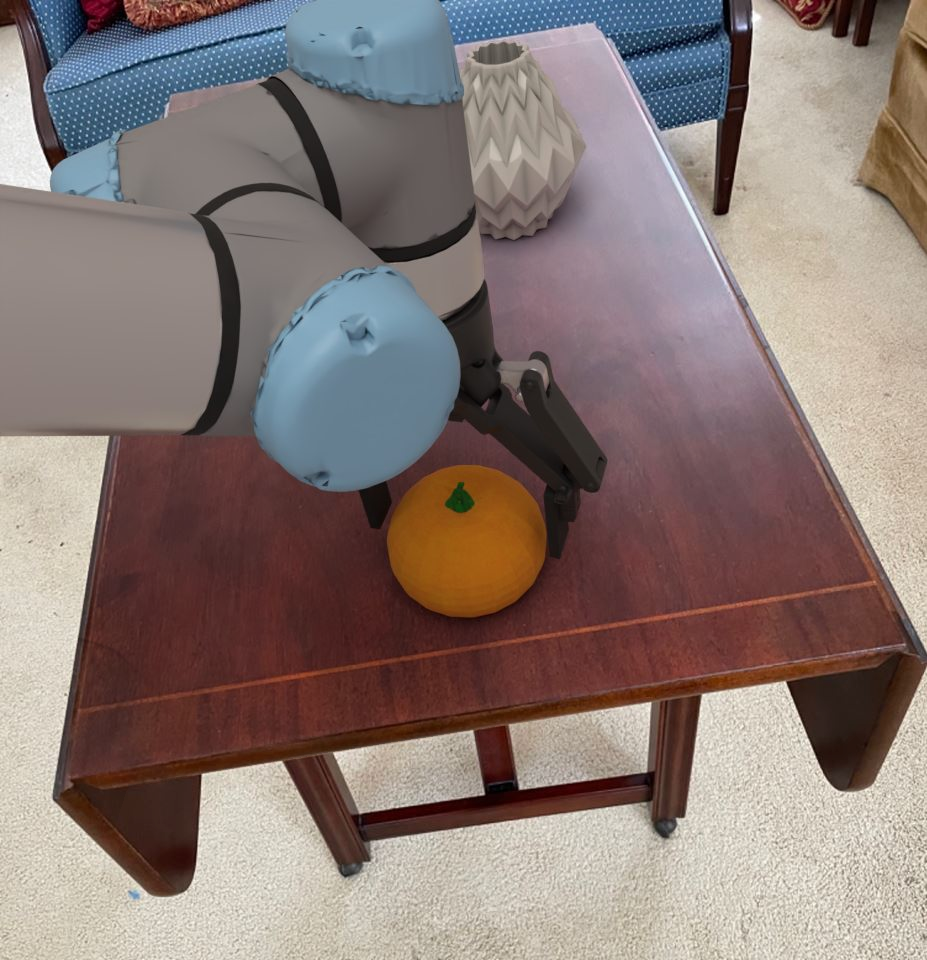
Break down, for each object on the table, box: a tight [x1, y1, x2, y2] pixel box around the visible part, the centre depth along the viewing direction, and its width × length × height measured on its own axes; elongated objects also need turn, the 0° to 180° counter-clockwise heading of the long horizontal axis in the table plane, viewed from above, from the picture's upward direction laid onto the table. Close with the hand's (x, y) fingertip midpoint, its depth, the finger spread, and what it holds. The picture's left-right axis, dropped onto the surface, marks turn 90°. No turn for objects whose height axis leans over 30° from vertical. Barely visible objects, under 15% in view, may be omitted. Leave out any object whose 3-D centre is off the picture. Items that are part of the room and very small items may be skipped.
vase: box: [459, 38, 587, 241], centre depth 98 cm, size 16×16×18 cm
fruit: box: [386, 464, 547, 619], centre depth 68 cm, size 12×12×10 cm
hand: (467, 529), depth 68 cm, fingers open, 13 cm apart
